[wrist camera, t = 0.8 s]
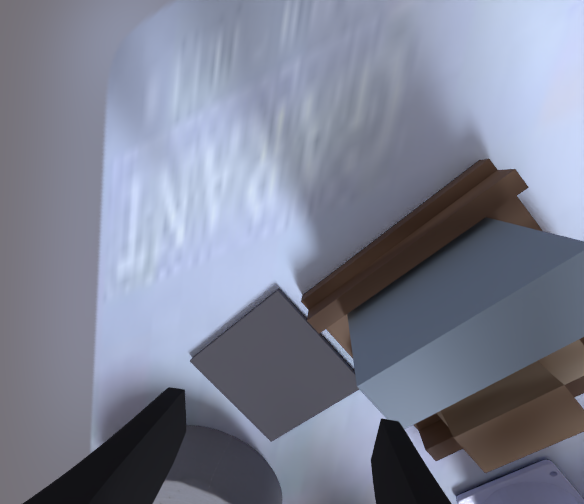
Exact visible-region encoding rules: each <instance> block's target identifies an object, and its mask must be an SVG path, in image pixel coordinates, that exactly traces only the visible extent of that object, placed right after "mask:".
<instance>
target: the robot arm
mask: <svg viewBox="0 0 584 504" xmlns="http://www.w3.org/2000/svg"><path fill="white" fill-rule="evenodd" d="M185 434H186V409H185V390H183V389H176V388H170V387H169V388H167V389H166V390H165V391H164V392H163V393H161V394H160V395H159V396H158V397H157V398H156V399H155V400H154V401H152V402H151V403H150V404H149V405H148V406H147V407H146V408H145V409H143V410H142V411H141V412H140V413H139V414H138V415H137V416H135V417H134V418H133V419H132V420H131V421H130V422H128V423H127V424H126V425H125V426H124V427H123V428H121V429H120V430H119V431H118V432H117V433H115V434H114V435H113V436H112V437H111V438H109V439H108V440H107V441H106V442H105V443H103V444H102V445H101V446H100V447H98V448H97V449H96V450H95V451H93V452H92V453H91V454H89V455H88V456H87V457H86V458H84V459H83V460H82V461H81V462H80V463H78V464H77V465H76V466H74V467H73V468H72V469H71V470H69V471H68V472H66V473H65V474H64V475H62V476H61V477H60V478H59V479H57V480H55V481H54V482H53V483H52V484H50V485H49V486H47V487H46V488H44V489H43V490H42V491H40V492H39V493H37V494H36V495H34V496H33V497H32V498H30V499H29V500H27V501H26V502H24V503H23V504H153V502H154V500H155V498H156V496H157V494H158V493H159V491H160V489H161V487H162V485H163V483H164V481H165V479H166V477H167V475H168V473H169V471H170V469H171V467H172V465H173V463H174V461H175V458H176V456H177V454H178V451H179V449H180V446H181V444H182V441H183V439H184V436H185ZM371 466H372V475H373V484H374V492H375V499H376V504H451V502H450V501H449V499H448V498H447V496H446V495H445V493H444V492H443V490H442V489H441V487H440V486H439V484H438V483H437V481H436V480H435V478H434V477H433V475H432V474H431V472H430V471H429V469H428V467H427V466H426V464H425V463H424V461H423V459H422V458H421V456H420V455H419V453H418V451H417V450H416V448H415V447H414V445H413V443H412V442H411V440H410V438H409V437H408V435H407V433H406V432H405V430H404V428H403V427H402V425H401V424H400V422H399V421H394V420H387V419H381V421H380V425H379V429H378V433H377V437H376V441H375V445H374V449H373V454H372V458H371ZM456 501H457V503H458V504H584V499H583V497H582V496H581V495H580V494H579V493H578V492H577V490H576V489H575V488H574V487H573V486H572V484H571V483H570V482H569V481H568V480H567V479H566V477H565V476H564V475H563V474H562V473H561V471H560V470H559V469H558V468H557V467H556V465H555V464H554V463H553V462H552V461H550V460H542V461H540V462H537V463H535V464H532V465H530V466H527V467H525V468H523V469H520V470H518V471H515V472H513V473H511V474H508V475H506V476H503V477H501V478H498V479H496V480H494V481H491V482H489V483H486V484H484V485H481V486H479V487H477V488H474V489H472V490H469V491H467V492H464V493H462V494H460V495H458V496H457V497H456Z"/></svg>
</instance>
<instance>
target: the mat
mask: <svg viewBox="0 0 584 504" xmlns="http://www.w3.org/2000/svg"><path fill="white" fill-rule="evenodd" d="M190 362H191V363H192V364H193V365H194V366H195V367H196V368H197V369H198V370H199V371H200V372H201V373H202V374H203V375H204V376H205V377H206V378H207V379H208V380H209V381H210V382H211V383H212V384H213V385H214V386H215V387H216V388H217V389H218V390H219V391H220V392H221V393H222V394H223V395H224V396H225V397H226V398H227V399H228V400H229V401H230V402H231V403H233V404H234V405H235V406H236V407H237V408H238V409H239V410H240V411H241V412H242V413H243V414H244V415H245V416H246V417H247V418H248V419H249V420H250V421H251V422H252V423H253V424H254V425H255V426H256V427H257V428H258V429H259V430H260V431H261V432H262V433H263V434H264V435H265V436H266V437H267V438H268V439H269V440H270V441H271V442H272V441H273V440H275V439H277V438H278V437H280V436H282V435H283V434H285V433H287V432H288V431H290V430H292V429H293V428H295V427H297V426H298V425H300V424H302V423H303V422H305V421H307V420H309V419H310V418H312V417H314V416H315V415H317V414H319V413H320V412H322V411H324V410H325V409H327V408H329V407H330V406H332V405H334V404H335V403H337V402H339V401H340V400H342V399H344V398H346V397H347V396H349V395H351V394H352V393H354V392H356V391H357V390H359V388H358V387H357V383H356V376H355V371H354V370H353V369H352V368H351V367H350V366H349V365H348V363H347V362H346V361H345V360H344V359H343V358H342V357H341V356H340V355H339V354H338V353H337V351H336V350H335V349H334V348H333V347H332V346H331V345H330V344H329V343H328V342H327V341H326V339H325V338H324V337H323V336H322V335H321V334H320V333H318V332H317V331H316V330H315V329H314V328H313V327H312V326H311V324H310V323H309V322H308V321H307V319H306V318H305V317H304V315H303V314H302V313H301V312H300V311H299V310H298V309H297V308H296V307H295V306H294V305H293V303H292V302H291V301H290V300H289V299H288V298H287V297H286V296H285V295H284V294H283V293H282V291H281V290H280V289H278V290H277V291H275V292H274V293H273V294H272V295H270V296H269V297H268V298H267V299H265V300H264V301H263V302H262V303H260V304H259V305H258V306H257V307H255V308H254V309H253V310H251V311H250V312H249V313H248V314H246V315H245V316H244V317H243V318H241V319H240V320H239V321H238V322H236V323H235V324H234V325H233V326H231V327H230V328H229V329H228V330H226V331H225V332H224V333H223V334H221V335H220V336H219V337H218V338H216V339H215V340H214V341H213V342H211V343H210V344H209V345H208V346H206V347H205V348H204V349H203V350H201V351H200V352H199V353H198V354H196V355H195V356H194V357H193V358H192V359H191V360H190Z"/></svg>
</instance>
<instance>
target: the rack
mask: <svg viewBox="0 0 584 504" xmlns="http://www.w3.org/2000/svg"><path fill="white" fill-rule="evenodd" d="M527 188H528V186H527V185H526V183H525V182H524V180H523V179H522V178H521V176H520V175H519V174H518V172H517V171H516V169H508V170H497V169H496V167H495V166H494V165H493V163H492V162H491V161H490V159H484V160H479V161H478V162H476V163H475V164H474V165H472V166H471V167H470V168H469V169H467V170H466V171H465V172H463V173H462V174H461V175H459V176H458V177H457V178H455V179H454V180H453V181H452V182H450V183H449V184H448V185H446V186H445V187H444V188H442V189H441V190H440V191H438V192H437V193H436V194H435V195H433V196H432V197H431V198H429V199H428V200H427V201H425V202H424V203H423V204H421V205H420V206H419V207H418V208H416V209H415V210H414V211H412V212H411V213H410V214H408V215H407V216H406V217H405V218H403V219H402V220H401V221H399V222H398V223H397V224H395V225H394V226H393V227H391V228H390V229H389V230H388V231H386V232H385V233H384V234H382V235H381V236H380V237H378V238H377V239H376V240H374V241H373V242H372V243H371V244H369V245H368V246H367V247H365V248H364V249H363V250H361V251H360V252H359V253H357V254H356V255H355V256H354V257H352V258H351V259H350V260H348V261H347V262H346V263H344V264H343V265H342V266H340V267H339V268H338V269H337V270H335V271H334V272H333V273H331V274H330V275H329V276H327V277H326V278H325V279H323V280H322V281H321V282H320V283H318V284H317V285H316V286H314V287H313V288H312V289H310V290H309V291H308V292H306V293H305V294H304V295H303V296H302V300H301V302H302V303H303V304H304V305H305V306H306V307H307V309H308V317H307V321H308V322H309V323H310V324H311V326H312V327H313V328H314V329H315V330H316V331H317V332H318V333H321V332H322V331H324V330H325V329H327V331H328V332H329V333H330V334H331V335H332V336H333V337H334V338H335V339H336V340H337V342H338V343H339V344H340V345H341V346H342V347H343V348H344V349H345V350H346V351H347V353H348V354H349V355H350V356H351V357H352V358H353V354H352V346H351V339H350V332H349V324H348V317H347V314H348V313H349V312H351V311H352V310H354V309H355V308H357V307H358V306H359V305H361V304H362V303H364V302H365V301H367V300H368V299H369V298H371V297H372V296H374V295H375V294H377V293H378V292H379V291H381V290H382V289H384V288H385V287H387V286H388V285H389V284H391V283H392V282H394V281H395V280H397V279H398V278H399V277H401V276H402V275H404V274H405V273H407V272H408V271H410V270H411V269H412V268H414V267H415V266H417V265H418V264H420V263H421V262H422V261H424V260H425V259H427V258H428V257H430V256H431V255H432V254H434V253H435V252H437V251H438V250H440V249H441V248H442V247H444V246H445V245H447V244H448V243H450V242H451V241H452V240H454V239H455V238H457V237H458V236H460V235H461V234H462V233H464V232H465V231H467V230H468V229H470V228H471V227H473V226H474V225H475V224H477V223H478V222H480V221H481V220H483V219H484V218H485V217H487V218H491V219H495V220H499V221H503V222H507V223H511V224H515V225H519V226H523V227H527V228H531V229H535V230H539V231H542V229H541V228H540V227H539V225H538V224H537V223H536V221H535V220H534V219H533V217H532V216H531V215H530V213H529V212H528V210H527V209H526V208H525V206H524V205H523V204H522V202H521V201H520V200H519V198H518V197H517V195H518V194H520V193H521V192H523V191H524V190H525V189H527ZM580 341H581V342H582V343H583V345H584V337H582V338H581V339H580ZM565 387H566V388H567V389H568V390H569V392H570V393H571V394H572V395H573V397H576V396H578V395H581V394H583V393H584V376H582V377H580V378H578V379H576V380H574V381H572V382H570V383H567V384H565ZM414 426H415V427H416V428H417V429H418V430H419V433H420V436H421V438H422V441H423V444H424V447H425V450H426V451H427V452H428V453H429V454H430V455H431V456H432V457H433V459H434V460H435V461H438V460H440V459H442V458H444V457H446V456H448V455H451V454H453V453H455V452H457V451H459V450H461V449H463V448H462V447H461V446H460V444H459V443H458V442H457V441H456V440H455V439H454V438H453V436H452V433H451V431H450V429H449V427H448V426H447V425H446V423H445V422H444V421H443V420H442V419H441V418H440V417H439V416H438V414H437V413H435V414H433V415H431V416H429V417H427V418H425V419H424V420H422V421H420V422H418V423H416V424H414Z"/></svg>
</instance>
